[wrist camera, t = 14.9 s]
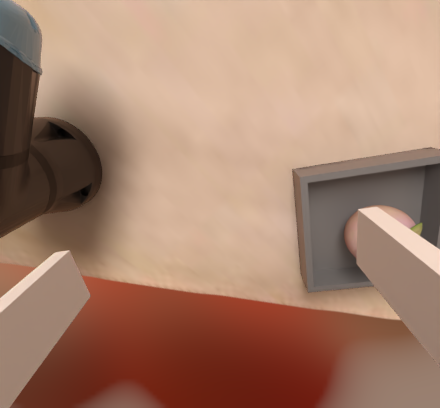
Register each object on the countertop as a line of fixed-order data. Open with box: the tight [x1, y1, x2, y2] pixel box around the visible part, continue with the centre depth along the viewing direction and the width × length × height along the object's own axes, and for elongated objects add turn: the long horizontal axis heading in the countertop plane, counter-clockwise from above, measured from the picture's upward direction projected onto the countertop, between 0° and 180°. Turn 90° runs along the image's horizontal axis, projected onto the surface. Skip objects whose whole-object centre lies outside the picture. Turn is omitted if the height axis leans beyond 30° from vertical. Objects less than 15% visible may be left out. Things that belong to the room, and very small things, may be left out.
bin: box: [292, 148, 440, 292], centre depth 39 cm, size 20×20×5 cm
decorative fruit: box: [344, 205, 422, 259], centre depth 36 cm, size 9×8×10 cm
